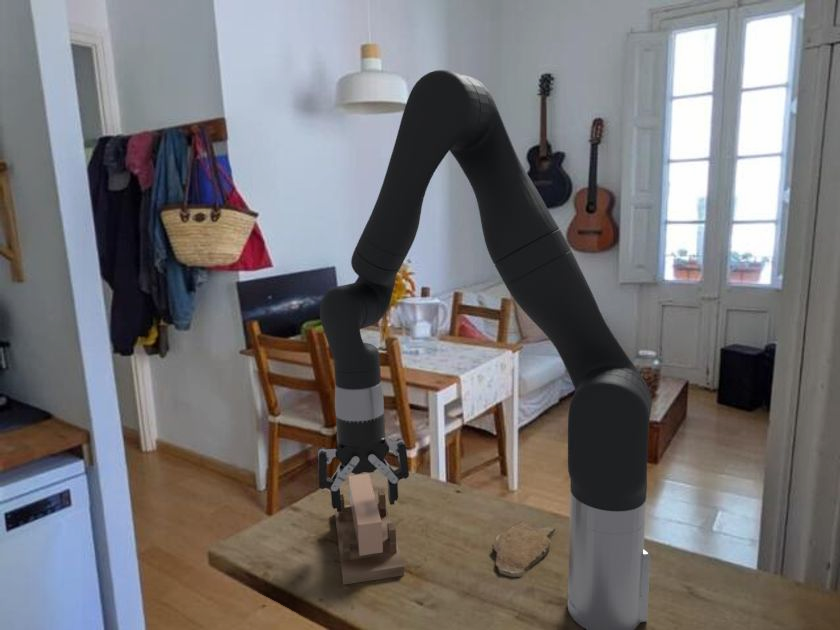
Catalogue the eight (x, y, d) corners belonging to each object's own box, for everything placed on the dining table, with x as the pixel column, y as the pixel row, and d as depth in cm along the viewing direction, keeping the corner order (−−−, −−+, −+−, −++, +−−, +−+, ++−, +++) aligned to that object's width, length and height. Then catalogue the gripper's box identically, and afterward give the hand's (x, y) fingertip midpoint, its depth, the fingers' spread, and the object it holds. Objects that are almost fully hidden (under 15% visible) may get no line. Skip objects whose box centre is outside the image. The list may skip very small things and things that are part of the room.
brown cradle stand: (334, 514, 104) (333, 485, 103) (384, 507, 106) (383, 479, 105) (343, 584, 85) (341, 550, 84) (404, 575, 86) (402, 541, 85)
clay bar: (370, 499, 103) (368, 473, 102) (382, 552, 87) (381, 521, 86) (350, 502, 102) (348, 476, 101) (359, 555, 87) (357, 525, 86)
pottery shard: (537, 593, 84) (557, 531, 97) (537, 578, 84) (557, 517, 97) (482, 580, 88) (508, 521, 101) (481, 566, 87) (508, 508, 100)
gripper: (314, 424, 86) (321, 524, 89) (409, 414, 89) (413, 511, 92) (313, 407, 93) (320, 500, 96) (400, 398, 96) (404, 489, 99)
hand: (365, 505), depth 94 cm, fingers open, 8 cm apart
